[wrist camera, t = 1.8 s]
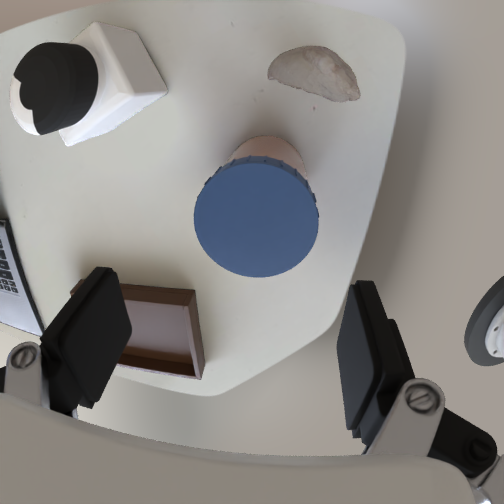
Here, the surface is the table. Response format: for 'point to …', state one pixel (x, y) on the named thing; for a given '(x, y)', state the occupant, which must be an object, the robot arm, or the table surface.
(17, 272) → the laptop
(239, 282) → the table surface
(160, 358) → the tray
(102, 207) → the table surface
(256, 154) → the jar
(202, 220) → the lid
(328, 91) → the fossil
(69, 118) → the medicine bottle
